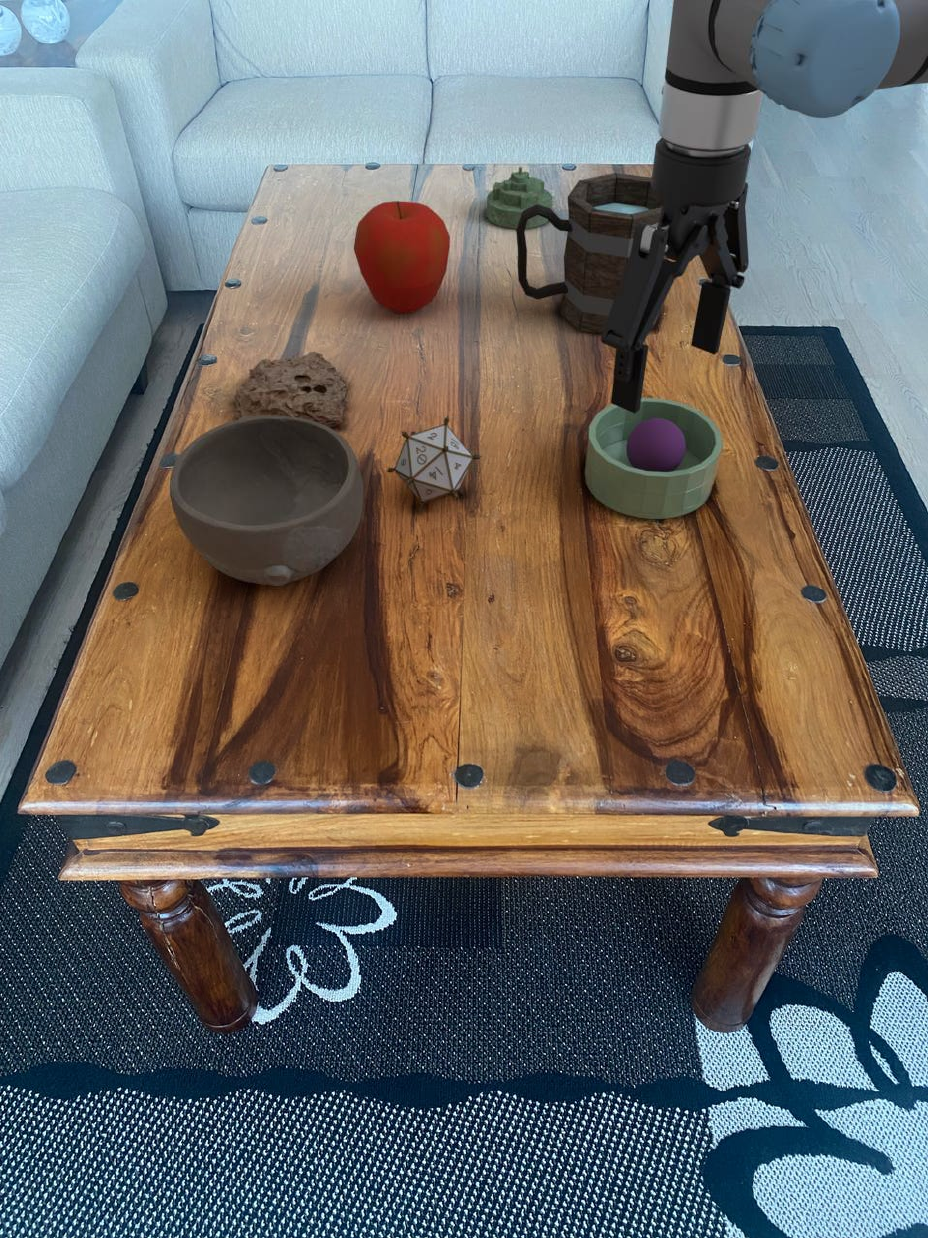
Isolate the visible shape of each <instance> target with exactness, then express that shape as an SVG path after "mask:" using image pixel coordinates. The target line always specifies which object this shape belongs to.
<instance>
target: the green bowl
mask: <svg viewBox="0 0 928 1238" xmlns="http://www.w3.org/2000/svg"><path fill="white" fill-rule="evenodd" d="M652 418H662V419H666V420H669V421H671V422H673V423H674V424H675V425H676V426H677V427H678V428H679V429H680V430H681V432H682V433H683V436H684V438H685V444H686V450H685V455H684V458H683V460H682V462H681V463H680V465H679V466H678V467H677V468H676V469H675V470H674V471H672V472H652V471H644V470H640V469H636V468H633V467H632V465H631V464H630V462H629V460H628V457H627V452H626V445H627V441H628V438H629V435H630V434H631V432H632V431H633V429H634V428H635V427H636V426H637V425H639V424H640V423H641V422H643V421H645V420H648V419H652ZM723 446H724V444H723V437H722V432H721V430H720V429H719V427H718V426H717V425H716V423H715V421H714V420H713V419H711V418H710V417H709V416H707V414H705V413H703V412H702V411H701V410H699V409H697V408H694V407H693V406H690V405H688V404H685V403H683V402H679V401H675V400H671V399H666V398H657V397H641V403H640V410H639V411H638V412H636V413H635V414H634V413H632V412H630V411H628V410H625V409H623V408H621V407H619V406H616V405H614V404H612V403H611V404H610V405H607V406H606V407H604V408H603V409H602V410H600V411H599V412H598V413H596V414H595V415H594V417H593V419H592V420H591V422H590V423H589V426H588V432H587V441H586V452H585V462H584V481H585V483H586V487H587V488H588V490H589V492H590V493H591V494H592V495H593V497H594V498H595V499H596V500H598V502H600V503H601V504H603V505H604V506H606V507H607V508H609V509H611V510H613V511H616V512H617V513H620V514H623V515H626V516H630V517H632V518H638V519H644V520H645V519H647V520H665V519H666V520H667V519H673V518H679V517H682V516H685V515H687V514H690V513H692V512H694V511H696V510H697V509H699V508H700V507H701V506H702V505H704V504H705V502H707V501H708V499H709V498H710V495H711V493H712V491H713V487H714V484H715V480H716V478H717V477H716V476H717V473H718V468H719V463H720V460H721V456H722V450H723Z"/></svg>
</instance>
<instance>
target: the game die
mask: <svg viewBox="0 0 928 1238" xmlns="http://www.w3.org/2000/svg"><path fill="white" fill-rule="evenodd" d="M449 422H450V417H449V415H447V416H446V417H444V420H443V424H440V425H436V426H434V427H431V428H428V429H424V430H421V431H418V432H415V431H413V430H412V431H410V435H409V433H408V432H407V431H403V430H401V431H400V432H401V437H403V438H405V440H404V442H403V445H402V447H401V449H400V453H399V455H398V459H397V460H396V463H395V466H394V467H388V469H387V470H386V472H387V473H389V474H391V473H394V472H395V474H396V475H398V478H400V479H401V481H402V482H403V483H404V484H405V485H406V487H407V488H408V489H409V490H410V491H411V492H412V494H413V495H414V496H415V498H417V499H418V501H419V503H418V505H417V507H418V510H419V512H420V511H421V510H422V509H424V507H425V505H424V503H427V502H429V501H433V500H436V499H438V498H441V497H444V496H447V495H450V494H451V495H452V497H453V498H458V496H459V495H465V490H464V489H463V488H461V487H462V485H463V483H464V481H465V478H466V476H467V474H468V472H469V470H470V468H471V466H472V464H473V462H474V460H475V461H477V460H480V459H481V458H482V457H483V455H481V454H474V455H473V454H472V453H471V451H470V450H469V449H468V448H467V447H466V445H465V444H464V443H463V442H462V441H461V440H460V439H459V437H458V436H457V435H456V433H454V431H453V430H452V429H451V427H450V426H449V425H448V424H449Z"/></svg>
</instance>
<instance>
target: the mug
mask: <svg viewBox="0 0 928 1238" xmlns="http://www.w3.org/2000/svg"><path fill="white" fill-rule="evenodd" d="M651 179H652V177H649V176H643V175H642V176H641V175H636V174H635V175H633V174H627V173H618V172H613V173H608V174H603V175H598V176H593V177H589V178H584V179H580V180H578V181H577V183H576V184H575V185H574V187H573V188H572V190H571V192H570V193H569V194H568V195H567V210H568V211H567V212H568V213H567V214H568V219H562V218H560V217H559V216H558V215H557V214H556V213H555V212H554V211H553V209H552V210H551V209H550V208H548V207H545V206H542V205H539V204H536V205H534V206H532V207H529V208H527V209H525V210H523V212H522V214H521V217H520V220H519V223H518V226H517V229H515V232H516V233H515V234H516V244H517V246H516V247H517V280H518V281H517V282H518V283H519V285H520V287H521V289H522V291H523V293H524V295H525V296H527V297H530V298H532V299H535V300H542V299H546V298H548V297H553V296H558V295H562V298H561V299H562V300H561V305H560V309H559V310H560V311H559V313H560V314H561V315H562V316H563V317H564V318H565V319H567V320H568V321H569V322H570V323H571V325H573V326H574V327H575V328H576V329H577V330H578V331H581V332H585V333H587V332H588V333H592V334H593V333H594V334H598V335H602V333H603V330H604V327H605V325H606V322H607V319H608V316H609V313H610V310H611V308H612V305H613V302H614V299H615V296H616V293H617V290H618V288H619V285H620V282H621V279H622V276H623V273H624V271H625V268H626V265H627V262H628V259H629V256H630V253H631V249H632V243H633V237H634V232H635V228H636V226H637V225H638V223H640V222H642V223H645V224H649V225H653V224H656V223H657V220H658V217H659V215H660V211H661V208H662V202H661V200H660V198H659V197H658V195H657V194H656V193H655V192H654V190H653V188H652V185H651ZM537 215H539V216H542V217H544V218H546V219H548V220H549V221H548V222H549V223H550V224H551V225H552V226H553V227H554V228H555V229H556V230H558V231H559V232H567V235H566V241H565V248H564V253H563V271H564V272H563V273H564V275H563V277H564V279H563V281H561V282H554V283H551V284H550V283H549V284H546V285H544V286H541V287H538V288H537V287H534V286H531V285H530V283H529V281H528V278H527V275H528V273H527V272H528V271H527V269H528V267H527V266H528V247H527V239H526V233H525V232H526V229H525V228H526V224H527V220H528V219H530V218H532V217H535V216H537ZM663 258H664V259H667V260H669V259H668V258H666V256H665V255H664V257H663ZM661 311H662V307H661V309H660V311H659V313H658V315H657V317H656V319H655V321H654V323H653V325H652V327H651V329H654V327H655V325H656V323H657V320H658V318H659V316H660V313H661Z"/></svg>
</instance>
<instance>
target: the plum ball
mask: <svg viewBox="0 0 928 1238" xmlns="http://www.w3.org/2000/svg"><path fill="white" fill-rule="evenodd" d="M685 450H686V444H685V438H684V436H683V433H682V432H681V430H680V429H679V428H678V427H677V426H676V425H675V424H674V423H673V422H671V421H669V420H666V419H662V418H652V419H648V420H645V421H643V422H641V423H640V424H639V425H637V426H636V427H635V428H634V429H633V431H632V432H631V434H630V435H629V438H628V441H627V445H626V452H627V457H628V460H629V462H630V464H631V465H632V467H633V468H636V469H640V470H644V471H652V472H672V471H674V470H675V469H676V468H677V467H678V466H679V465H680V463H681V462H682V460H683V458H684V455H685Z"/></svg>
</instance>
